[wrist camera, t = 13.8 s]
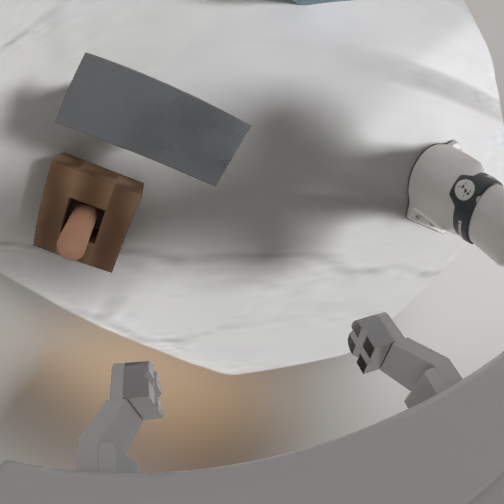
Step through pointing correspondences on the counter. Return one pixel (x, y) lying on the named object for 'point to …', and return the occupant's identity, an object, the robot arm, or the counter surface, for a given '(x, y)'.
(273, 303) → the counter surface
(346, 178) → the counter surface
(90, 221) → the peg
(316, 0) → the cup
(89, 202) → the socket
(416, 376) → the robot arm
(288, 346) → the counter surface
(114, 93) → the grey u-shaped bracket
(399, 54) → the counter surface
